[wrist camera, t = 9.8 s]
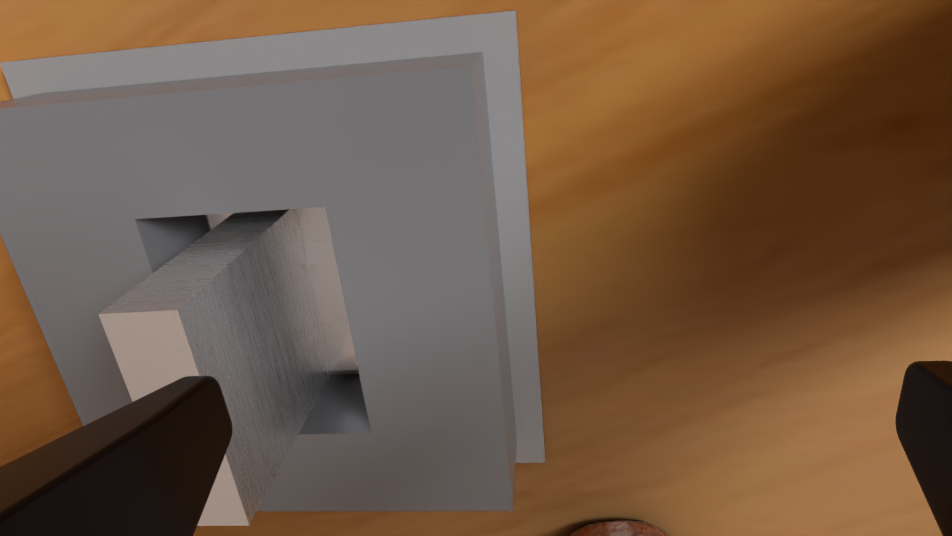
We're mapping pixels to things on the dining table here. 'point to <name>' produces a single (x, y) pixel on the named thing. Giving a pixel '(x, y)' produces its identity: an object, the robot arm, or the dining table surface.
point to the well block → (350, 221)
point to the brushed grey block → (242, 338)
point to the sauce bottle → (619, 529)
